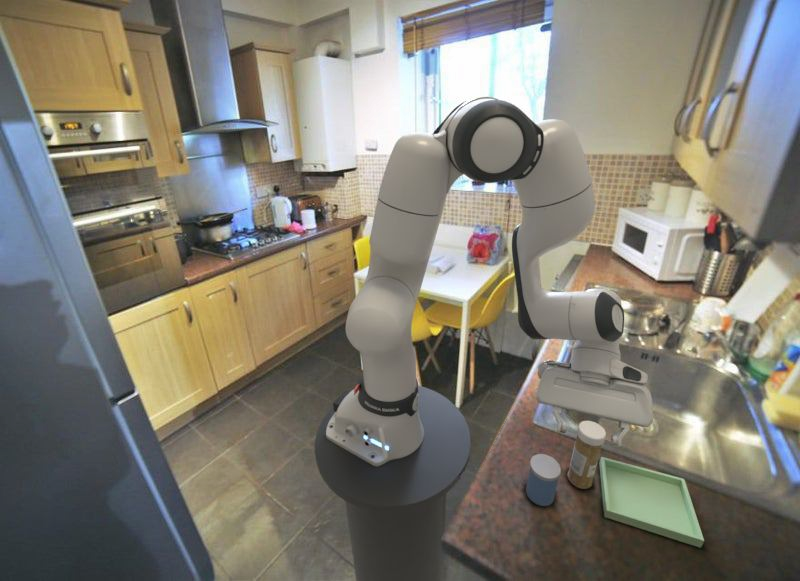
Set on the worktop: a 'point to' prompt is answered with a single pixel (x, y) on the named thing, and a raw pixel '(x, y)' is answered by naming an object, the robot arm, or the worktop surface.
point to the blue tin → (542, 479)
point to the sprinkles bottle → (586, 454)
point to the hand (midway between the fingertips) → (587, 439)
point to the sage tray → (649, 501)
